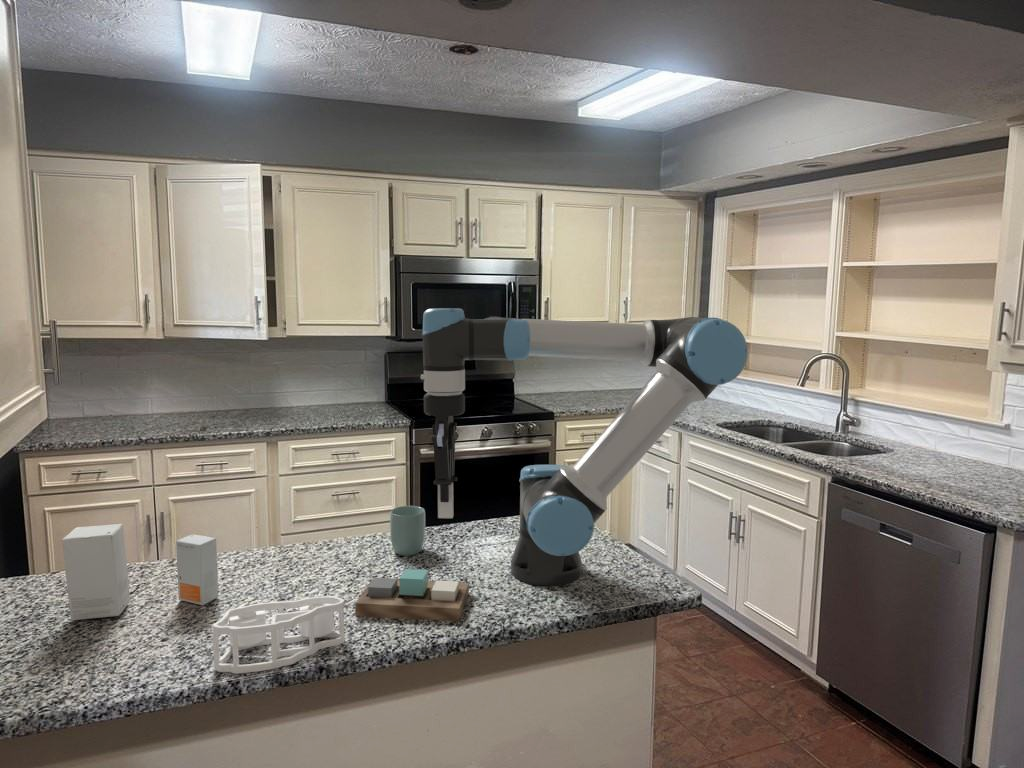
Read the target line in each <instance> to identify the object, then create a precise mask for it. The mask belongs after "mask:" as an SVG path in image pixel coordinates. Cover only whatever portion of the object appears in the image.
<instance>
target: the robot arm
mask: <svg viewBox="0 0 1024 768" xmlns="http://www.w3.org/2000/svg"><path fill="white" fill-rule="evenodd" d="M464 312H465V311H464V309H462V308H450V307H449V308H448V307H446V308H444V307H443V308H441V307H439V308H428V309H426V310H425V311H424V312H423V316H422V319H423V320H422V333H421V335H422V336H421V337H422V362H423V365H422V366H423V367H422V369H423V374H421V375H420V379H421V380H423V390H424V392H426V393H425V394H424V395H423V412H424V414H425V415H427V416H431V417H432V416H433V417H435V422H434V424H432V434H433V436H432V438H431V441H432V445H433V456H434V457H433V458H434V459H433V460H434V473H435V479H434V480H433V482H432V483H433V484H432V485H434V486H435V485H436V486H437V519H453V518H454V482H457V481H458V477H457V476H455V473H456V471H455V469H456V468H455V466H456V465H455V462H456V461H455V460H456V459H455V458H456V433H457V432H456V431H457V428H458V427H457V425H458V424H457V422H454V417H457V416H460V415H463V414H464V413H465V412H466V403H465V402H466V396H465V395H466V394H464V393H463V392H464V391H465V390H466V369H465V361H474V360H475V361H481V360H482V361H509V362H512V361H517V360H518V361H519V360H521V361H522V360H526V359H528V358H529V357H545V358H563V359H564V358H567V359H568V358H569V359H587V360H589V359H590V360H608V361H610V360H611V361H628V362H629V361H631V362H639V363H641V364H642V365H643V367H651V368H652V367H654V368H656V371H655V373H654V374H653V375H652V377H651V378H650V379H648V381H646V383H645V384H644V385H643V387H642V388H641V389H639V391H638V392H637V393H636V394H635V395H634V397H633V398H632V399H631V400H630V401H629V402H628V403H627V405H625V407H624V408H623V409H622V410H621V411H620V412H619V413H618V415H617V416H616V417H615V418H614V419H613V420H612V421H611V423H609V425H608V426H607V427H606V428H605V429H604V430H603V431H602V432H601V433H600V435H599V436H598V437H597V438H596V439H595V440H594V441H593V442H592V443H591V445H590V446H589V447H588V448H587V449H586V451H585V452H584V453H583V454H582V455H581V456H580V457H579V458H578V460H577V461H575V463H574V464H573V465H571V466H570V465H565V464H564V465H562V464H533V465H532V464H530V465H526V466H524V467H523V468H521V470H520V477H519V481H518V482H519V483H520V485H519V490H520V491H519V492H520V496H519V497H520V498H519V537H518V539H517V542H516V545H515V548H514V551H513V554H512V557H511V561H510V572H511V575H512V576H513V577H514V578H516V580H519V581H521V582H524V583H527V584H530V585H536V586H544V587H551V586H552V587H553V586H554V587H556V586H562V585H566V584H567V585H568V584H571V583H574V582H576V581H577V580H579V579H580V578H581V577H582V574H583V562H582V558H581V555H580V554H581V553H580V551H582V550H583V549H584V548H585V547H586V546H587V545H588V543H589V542H590V540H591V539H592V537H593V534H594V529H595V523H596V522H597V521H598V520H599V519H600V518H601V516H602V515H603V514H604V513H605V512H606V511H607V509H608V506H607V505H608V504H607V499H608V496H609V495H610V494H611V493H612V491H614V489H615V488H617V486H619V484H620V483H621V482H622V481H623V480H624V478H625V477H626V476H627V475H628V474H629V473H630V472H631V470H632V469H634V467H635V466H636V465H637V464H638V463H639V461H640V460H641V459H642V458H643V457H644V456H645V455H646V453H648V451H649V450H650V449H651V448H652V447H653V446H654V445H655V444H656V442H657V441H658V440H660V438H661V437H662V436H663V435H664V434H665V432H666V431H667V430H668V429H669V428H670V427H671V426H672V425H673V424H674V422H675V421H676V420H677V419H678V418H679V417H680V416H681V414H682V413H684V411H685V410H686V409H687V408H688V407H689V406H690V404H691V403H693V402H703V401H705V400H706V399H707V398H708V397H709V395H711V394H712V393H713V391H714V390H715V389H716V388H717V387H718V386H722V385H725V384H727V383H730V382H731V381H733V380H735V379H736V378H737V377H739V376H740V374H741V373H742V372H743V371H744V368H745V366H746V363H747V360H748V355H749V354H748V344H747V341H746V338H745V335H743V333H742V331H741V330H740V328H738V327H737V326H736V325H735V324H733V323H731V322H729V321H727V320H724V319H722V318H719V317H698V316H697V317H695V316H694V317H693V316H688V317H681V318H671V319H646V320H645V321H643V323H642V324H641V323H623V322H622V323H621V322H620V323H619V322H602V321H601V322H600V321H582V320H581V321H579V320H578V321H577V320H558V319H557V320H556V319H540V318H539V319H537V318H535V319H534V318H517V317H515V318H514V317H500V316H489V317H486V318H484V319H483V318H482V319H481V318H480V319H474V318H473V319H471V318H466V316H465V313H464Z"/></svg>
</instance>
